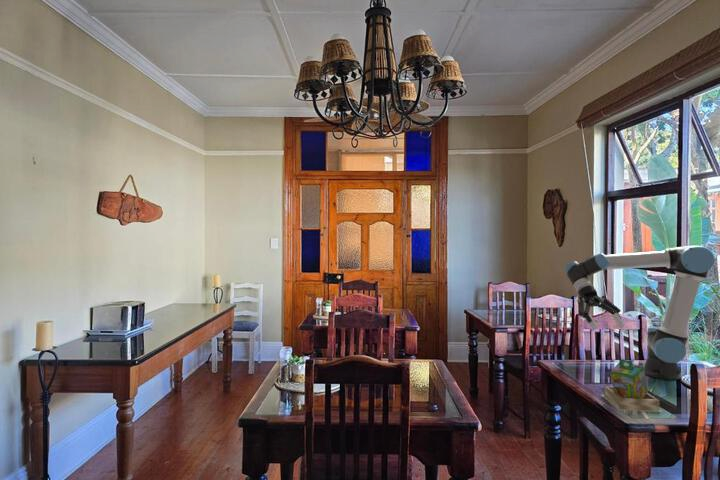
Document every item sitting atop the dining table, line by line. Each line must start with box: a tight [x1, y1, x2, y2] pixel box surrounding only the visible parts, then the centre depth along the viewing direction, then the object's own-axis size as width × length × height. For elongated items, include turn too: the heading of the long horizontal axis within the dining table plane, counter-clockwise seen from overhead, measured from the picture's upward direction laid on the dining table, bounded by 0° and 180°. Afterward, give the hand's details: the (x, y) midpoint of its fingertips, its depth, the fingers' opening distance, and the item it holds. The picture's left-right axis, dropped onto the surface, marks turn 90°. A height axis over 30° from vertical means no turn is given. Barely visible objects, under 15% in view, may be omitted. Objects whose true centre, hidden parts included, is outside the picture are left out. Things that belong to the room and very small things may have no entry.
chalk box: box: [609, 358, 649, 399], centre depth 169 cm, size 9×9×15 cm
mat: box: [600, 394, 664, 413], centre depth 170 cm, size 16×16×1 cm
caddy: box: [603, 385, 660, 411], centre depth 170 cm, size 14×14×4 cm
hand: (609, 327), depth 190 cm, fingers open, 13 cm apart
